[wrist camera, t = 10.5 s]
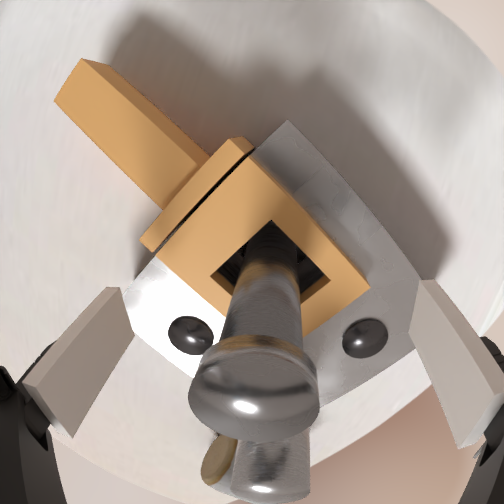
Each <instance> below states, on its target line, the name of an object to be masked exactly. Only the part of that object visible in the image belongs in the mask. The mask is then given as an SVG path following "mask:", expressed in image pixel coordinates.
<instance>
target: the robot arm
mask: <svg viewBox="0 0 504 504" xmlns="http://www.w3.org/2000/svg"><path fill="white" fill-rule="evenodd" d="M408 333H409V335H410V337H411V339H412V341H413V343H414V345H415V347H416V349H417V352H418V354H419V356H420V358H421V360H422V362H423V364H424V367H425V369H426V371H427V373H428V375H429V378H430V380H431V382H432V384H433V387H434V389H435V391H436V393H437V396H438V399H439V401H440V403H441V406H442V408H443V411H444V413H445V416H446V418H447V421H448V423H449V426H450V429H451V431H452V434H453V437H454V440H455V442H456V445H457V448H458V449H461V448H464V447H467V446H469V445H473V444H475V443H476V442H477V441H478V440H479V438H480V437H481V436H482V434H483V433H484V435H485V437H486V441H485V443H484V444H483V445H482V446H481V448H480V449H479V450H478V451H477V453H476V454H475V455H474V457H473V458H476V457H477V456H478V455H479V454H480V455H479V457H478V460H477V462H476V465H475V468H474V470H473V472H472V475H471V477H470V480H469V482H468V484H467V486H466V488H465V491H464V493H463V495H462V497H461V499H460V502H459V503H458V504H504V356H503V355H501V351H500V350H499V349H498V347H497V346H496V344H495V343H493V342H492V341H491V340H489V339H488V338H487V337H479V336H478V335H477V333H476V332H475V331H474V329H473V328H472V326H471V325H470V324H469V322H468V321H467V320H466V318H465V317H464V316H463V314H462V313H461V312H460V310H459V309H458V308H457V307H456V305H455V304H454V303H453V301H452V300H451V299H450V298H449V296H448V295H447V294H446V293H445V291H444V290H443V289H442V288H441V287H440V285H439V284H438V283H437V282H436V280H435V279H431V280H419V286H418V291H417V296H416V301H415V306H414V311H413V315H412V320H411V324H410V328H409V332H408ZM134 336H135V335H134V332H133V329H132V326H131V323H130V320H129V317H128V314H127V310H126V307H125V304H124V301H123V297H122V294H121V290H120V287H106V288H105V289H104V290H103V291H102V292H101V293H100V294H99V295H98V296H97V297H96V298H95V299H94V300H93V302H92V303H91V304H90V305H89V306H88V307H87V308H86V309H85V310H84V311H83V312H82V313H81V314H80V315H79V316H78V318H77V319H76V320H75V321H74V322H73V323H72V324H71V325H70V326H69V327H68V329H67V330H66V331H65V332H64V333H63V334H62V335H61V336H60V337H59V339H58V340H56V341H55V342H53V343H52V344H50V345H49V346H48V347H47V348H46V349H45V350H44V351H43V352H42V353H41V354H40V355H41V356H39V357H38V358H37V359H36V360H35V363H33V364H32V365H31V366H30V367H29V369H28V370H27V371H26V372H25V373H24V375H23V376H22V377H21V378H20V379H19V381H18V382H17V383H16V384H15V383H14V381H13V379H12V378H11V376H10V375H9V373H8V371H7V370H6V368H5V367H4V366H0V504H67V502H66V499H65V495H64V492H63V488H62V484H61V481H60V476H59V472H58V468H57V463H56V459H55V453H54V448H53V443H52V437H51V434H50V431H49V430H48V429H47V428H48V427H49V425H50V424H51V425H52V426H53V427H54V429H55V430H56V431H57V432H58V433H59V434H62V435H64V436H67V437H70V438H72V439H73V437H74V435H75V433H76V432H77V430H78V428H79V426H80V425H81V423H82V421H83V419H84V418H85V416H86V414H87V413H88V411H89V409H90V407H91V406H92V404H93V402H94V401H95V399H96V397H97V396H98V394H99V392H100V391H101V389H102V387H103V386H104V384H105V382H106V381H107V379H108V378H109V376H110V374H111V373H112V371H113V369H114V368H115V366H116V365H117V363H118V361H119V360H120V358H121V357H122V355H123V353H124V352H125V350H126V349H127V347H128V346H129V344H130V342H131V341H132V339H133V338H134Z"/></svg>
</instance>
